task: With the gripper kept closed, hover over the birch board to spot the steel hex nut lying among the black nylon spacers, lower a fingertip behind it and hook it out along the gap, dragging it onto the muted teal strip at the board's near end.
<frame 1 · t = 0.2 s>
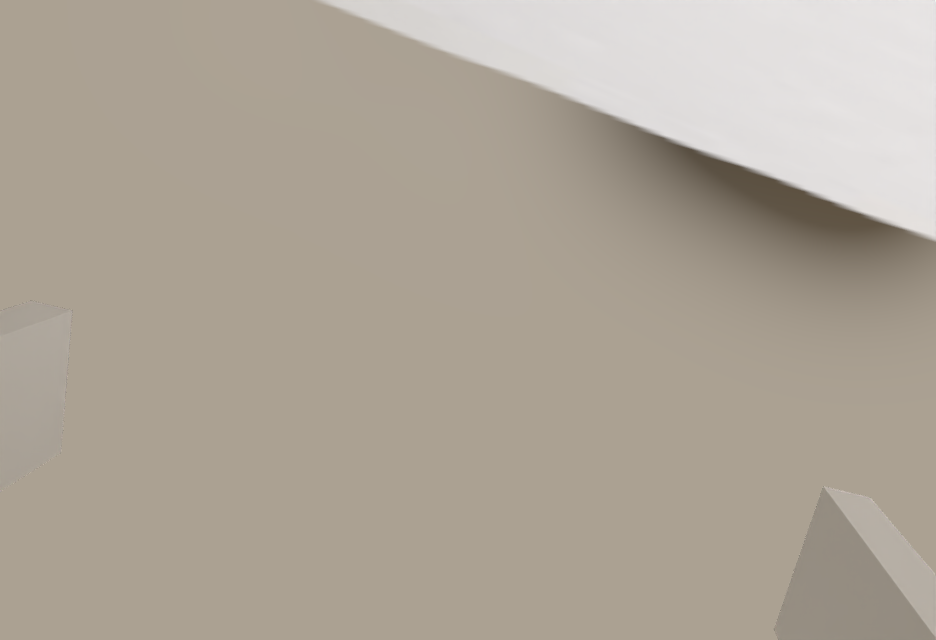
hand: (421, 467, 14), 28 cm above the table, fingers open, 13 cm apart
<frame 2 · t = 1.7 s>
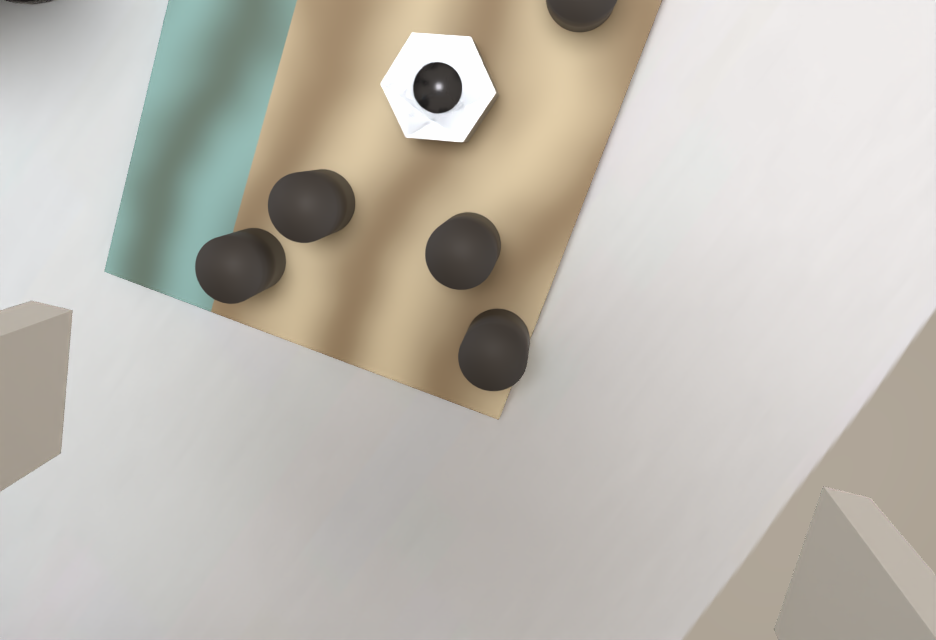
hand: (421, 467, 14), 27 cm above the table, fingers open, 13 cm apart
board: (377, 111, 39), on the table
nut: (445, 91, 38), point 1 cm above the table, touching board
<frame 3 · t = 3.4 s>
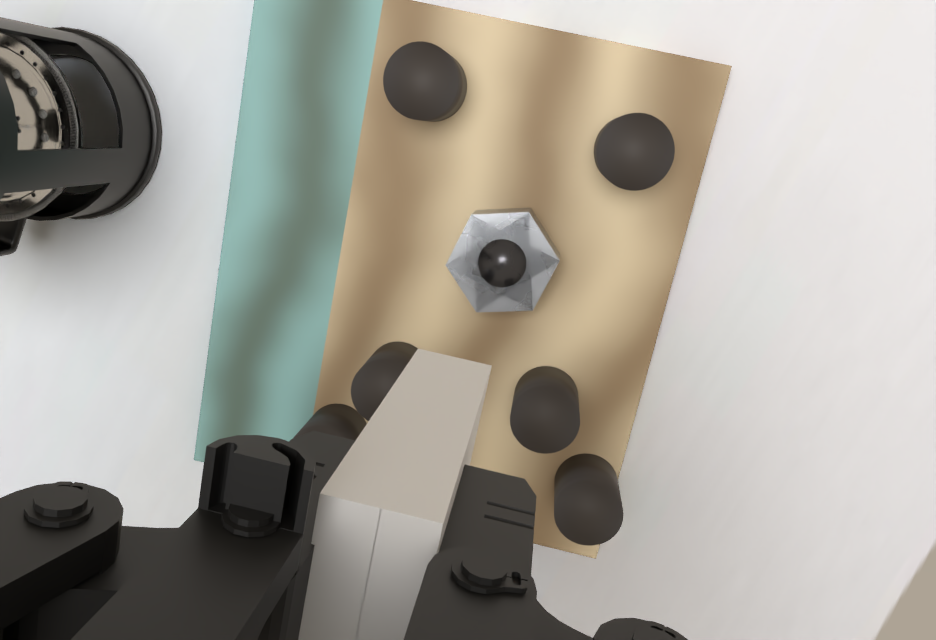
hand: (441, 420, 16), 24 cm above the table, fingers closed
french press: (73, 135, 41), on the table
board: (440, 278, 40), on the table
nut: (505, 255, 38), point 1 cm above the table, touching board
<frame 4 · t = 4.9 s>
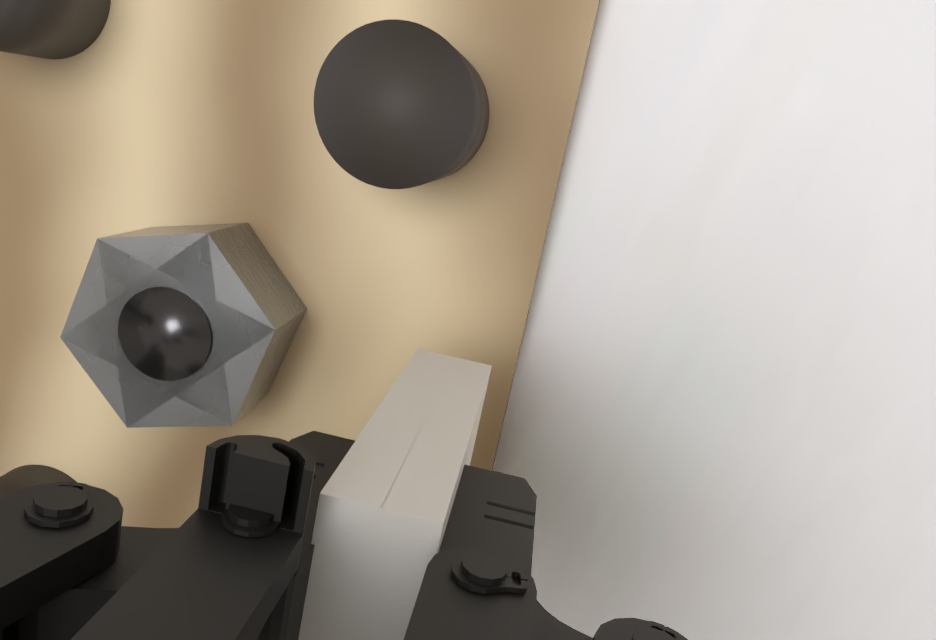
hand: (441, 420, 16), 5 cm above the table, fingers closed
board: (113, 349, 22), on the table
nut: (209, 311, 21), point 1 cm above the table, touching board
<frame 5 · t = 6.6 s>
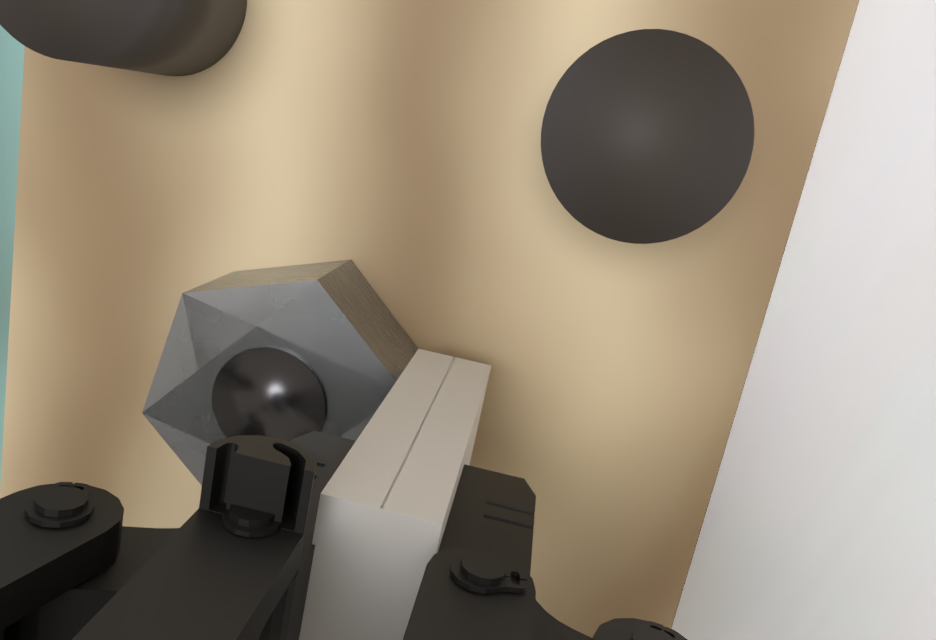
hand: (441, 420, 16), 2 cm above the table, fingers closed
board: (231, 413, 19), on the table
nut: (308, 366, 17), point 1 cm above the table, touching gripper
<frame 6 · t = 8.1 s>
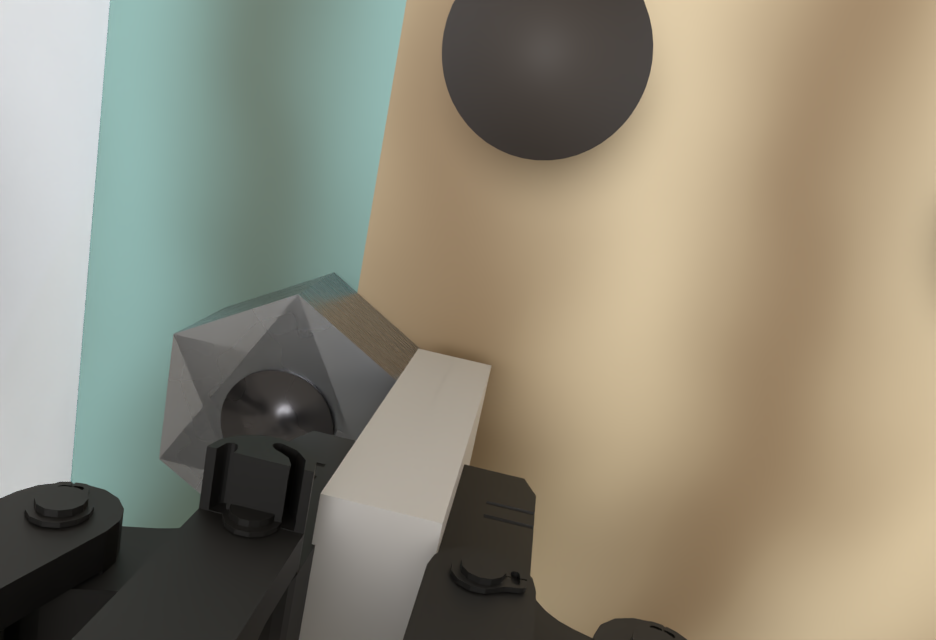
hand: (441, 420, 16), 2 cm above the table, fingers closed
board: (548, 488, 18), on the table
nut: (315, 386, 17), point 1 cm above the table, touching gripper
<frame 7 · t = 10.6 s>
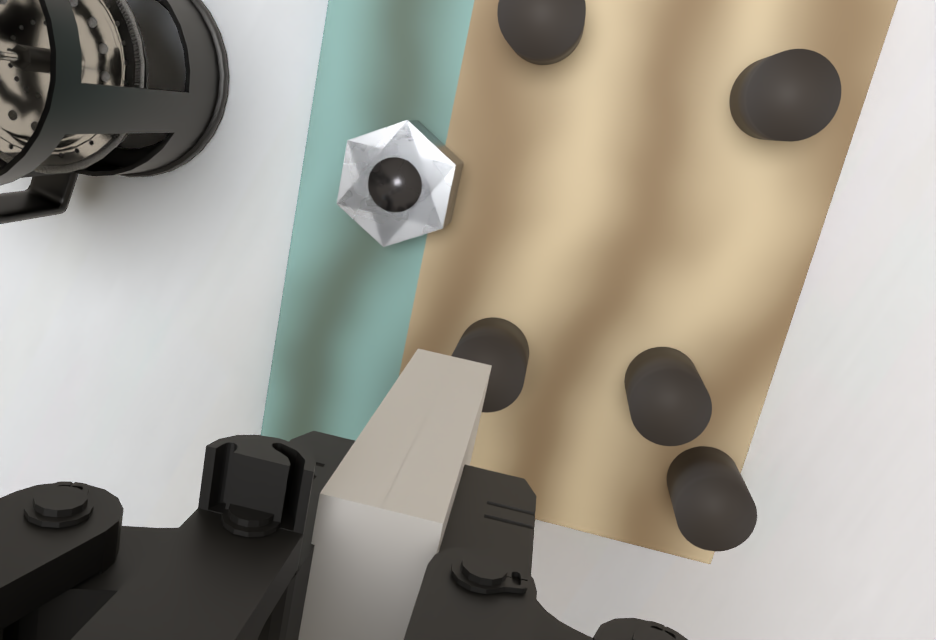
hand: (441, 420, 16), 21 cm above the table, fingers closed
french press: (129, 82, 36), on the table
board: (542, 246, 35), on the table
nut: (407, 180, 34), point 1 cm above the table, touching board
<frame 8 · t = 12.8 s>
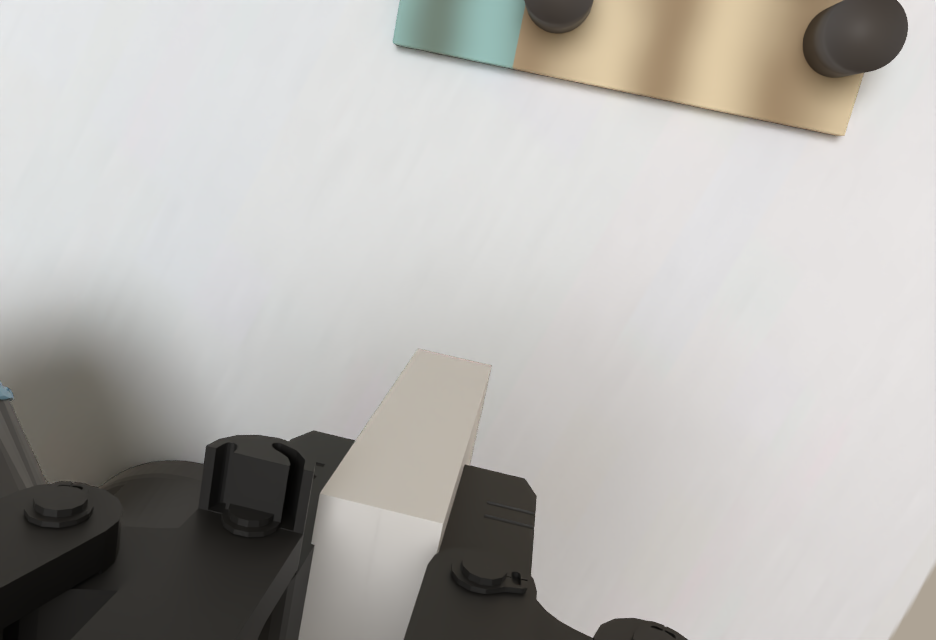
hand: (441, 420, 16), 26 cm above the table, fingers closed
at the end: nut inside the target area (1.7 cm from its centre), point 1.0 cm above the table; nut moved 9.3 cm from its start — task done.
